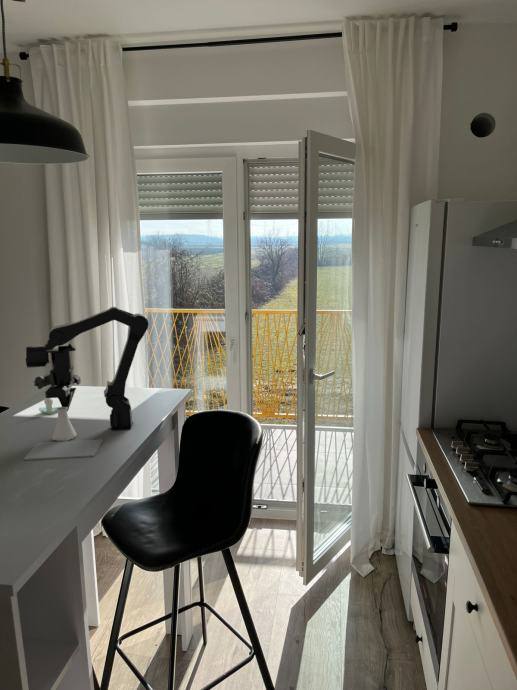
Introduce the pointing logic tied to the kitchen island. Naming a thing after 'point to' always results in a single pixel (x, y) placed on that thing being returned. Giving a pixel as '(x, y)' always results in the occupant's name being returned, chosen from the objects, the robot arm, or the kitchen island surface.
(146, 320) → the robot arm
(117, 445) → the kitchen island surface
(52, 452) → the mat
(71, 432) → the flask
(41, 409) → the pacifier
